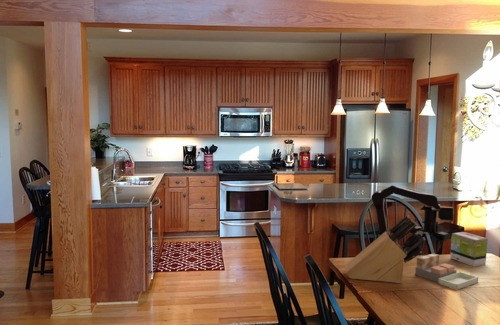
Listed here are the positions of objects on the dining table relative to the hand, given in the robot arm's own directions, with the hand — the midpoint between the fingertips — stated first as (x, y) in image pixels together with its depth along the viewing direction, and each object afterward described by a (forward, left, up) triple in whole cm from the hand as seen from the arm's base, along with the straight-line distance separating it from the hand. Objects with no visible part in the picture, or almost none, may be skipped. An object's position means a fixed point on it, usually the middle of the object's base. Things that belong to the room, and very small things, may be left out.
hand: (428, 250), depth 208 cm
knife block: (-26, +6, -12) cm, 29 cm away
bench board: (0, -5, -12) cm, 13 cm away
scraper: (0, 0, -8) cm, 8 cm away
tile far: (+3, -8, -8) cm, 12 cm away
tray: (0, -16, -12) cm, 20 cm away
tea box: (+36, -1, -12) cm, 38 cm away
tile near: (-4, -8, -8) cm, 12 cm away
